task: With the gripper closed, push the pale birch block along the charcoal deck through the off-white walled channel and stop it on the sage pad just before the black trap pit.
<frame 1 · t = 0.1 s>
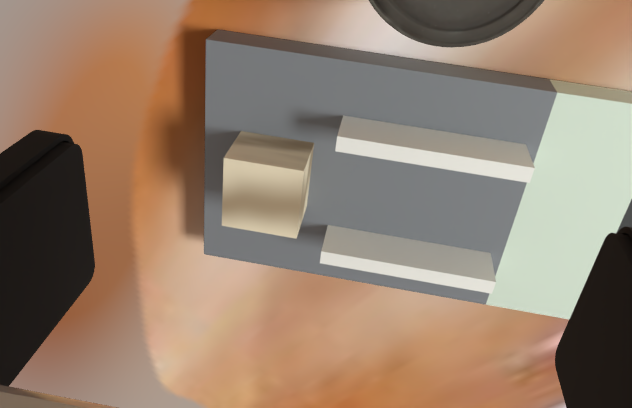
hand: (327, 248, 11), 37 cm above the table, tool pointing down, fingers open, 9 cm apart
birch block: (274, 169, 49), point 3 cm above the table, touching deck
deck: (471, 185, 50), on the table
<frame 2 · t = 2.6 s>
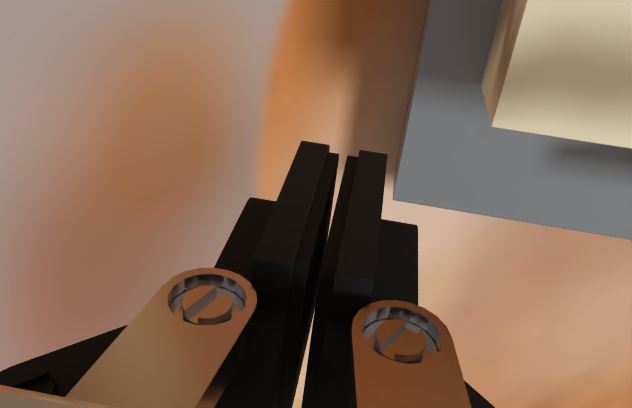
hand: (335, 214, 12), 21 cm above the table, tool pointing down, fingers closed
birch block: (565, 30, 26), point 3 cm above the table, touching deck
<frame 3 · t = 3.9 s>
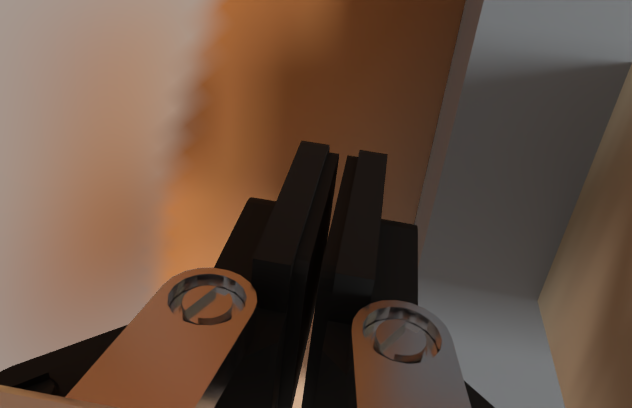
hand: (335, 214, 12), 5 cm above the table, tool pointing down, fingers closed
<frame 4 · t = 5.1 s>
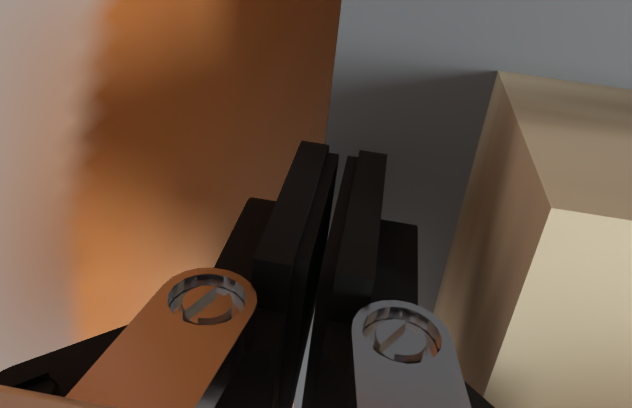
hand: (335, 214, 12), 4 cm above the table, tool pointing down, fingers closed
birch block: (606, 232, 12), point 3 cm above the table, touching deck, gripper
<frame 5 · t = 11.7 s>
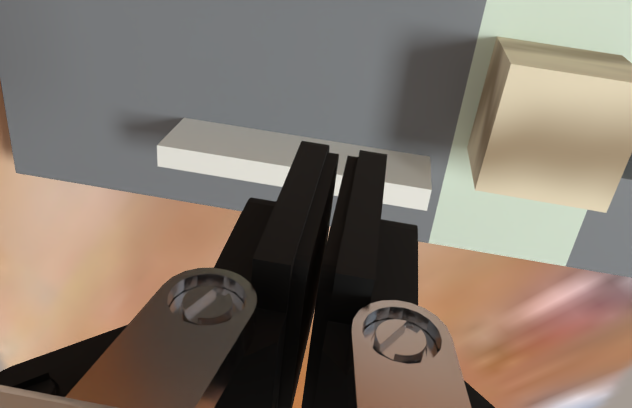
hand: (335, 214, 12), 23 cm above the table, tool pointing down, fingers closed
birch block: (540, 104, 30), point 3 cm above the table, touching deck
deck: (400, 54, 33), on the table
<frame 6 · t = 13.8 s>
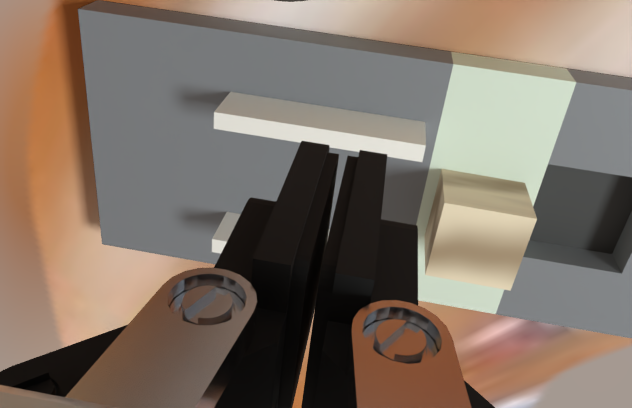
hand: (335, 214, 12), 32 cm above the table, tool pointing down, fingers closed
birch block: (472, 210, 44), point 3 cm above the table, touching deck
deck: (379, 168, 47), on the table
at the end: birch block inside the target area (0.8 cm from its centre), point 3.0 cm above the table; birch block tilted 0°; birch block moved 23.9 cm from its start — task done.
